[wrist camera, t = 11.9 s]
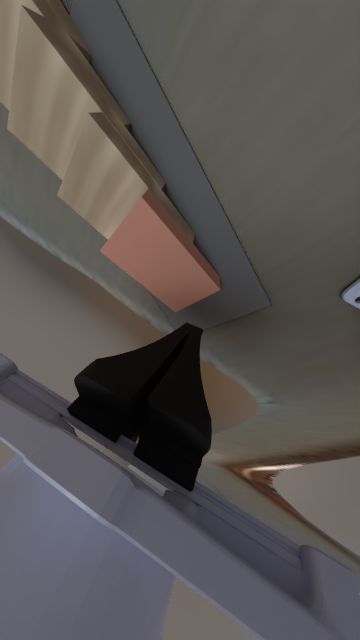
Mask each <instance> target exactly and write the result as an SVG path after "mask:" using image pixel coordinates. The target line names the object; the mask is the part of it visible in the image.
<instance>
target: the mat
mask: <svg viewBox="0 0 360 640" xmlns="http://www.w3.org/2000/svg"><path fill="white" fill-rule="evenodd" d="M69 17H70V18H71V20H72V22H73V24H74V26H75V27H76V29H77V31H78V33H79V34H80V36H81V38H82V40H83V41H84V43H85V45H86V47H87V49H88V50H89V52H90V54H91V59H90V62H89V64H90V66H91V67H92V68H93V70H94V71H95V73H96V74H97V75H98V77H99V78H100V80H101V81H102V83H103V84H104V85H105V87H106V88H107V90H108V91H109V92H110V94H111V95H112V97H113V98H114V100H115V101H116V102H117V104H118V105H119V107H120V108H121V109H122V111H123V112H124V114H125V115H126V117H127V118H128V119H129V121H130V122H131V125H130V127H129V129H128V131H129V133H130V134H131V135H132V137H133V138H134V140H135V141H136V142H137V144H138V145H139V146H140V148H141V149H142V151H143V152H144V153H145V155H146V156H147V157H148V159H149V160H150V161H151V163H152V164H153V166H154V167H155V168H156V170H157V171H158V172H159V174H160V175H161V177H162V178H163V179H164V181H165V182H166V183H165V185H164V186H163V188H162V189H161V190H162V191H163V192H164V194H165V195H166V196H167V198H168V199H169V200H170V202H171V203H172V204H173V206H174V207H175V208H176V209H177V211H178V212H179V213H180V215H181V216H182V217H183V219H184V220H185V221H186V223H187V224H188V225H189V227H190V228H191V229H192V230H193V232H194V233H195V235H194V241H193V244H194V245H195V247H196V248H197V249H198V250H199V252H200V253H201V254H202V255H203V257H204V258H205V259H206V260H207V262H208V263H209V264H210V265H211V267H212V268H213V269H214V270H215V272H216V273H217V274H218V275H219V277H220V291H217V292H215V293H213V294H211V295H209V296H207V297H205V298H203V299H201V300H199V301H197V302H195V303H193V304H191V305H189V306H187V307H185V308H183V309H181V310H179V311H177V312H174V311H173V310H172V309H170V308H169V307H168V306H167V305H166V304H164V303H163V302H162V301H161V300H159V299H158V298H157V297H156V296H154V295H153V294H152V293H151V292H150V291H149V293H150V294H151V296H152V297H153V298H154V300H155V301H156V303H157V304H158V305H159V307H160V308H161V309H162V311H163V312H164V314H165V315H166V316H167V318H168V319H169V321H170V322H171V323H172V325H173V326H174V327H175V329H178V328H179V327H181V326H182V325H183V324H184V323H186V322H187V323H190V324H192V325H194V326H197V327H199V328H202V329H203V330H205V329H208V328H211V327H213V326H216V325H219V324H222V323H225V322H227V321H230V320H233V319H236V318H238V317H241V316H244V315H247V314H250V313H252V312H255V311H258V310H261V309H263V308H266V307H269V306H272V304H271V302H270V300H269V298H268V296H267V294H266V292H265V290H264V288H263V286H262V284H261V282H260V280H259V278H258V276H257V274H256V273H255V271H254V269H253V267H252V265H251V263H250V261H249V259H248V257H247V255H246V253H245V251H244V249H243V247H242V245H241V243H240V241H239V239H238V237H237V235H236V233H235V231H234V229H233V227H232V225H231V224H230V222H229V220H228V218H227V216H226V214H225V212H224V210H223V208H222V206H221V204H220V202H219V200H218V198H217V196H216V194H215V192H214V190H213V188H212V186H211V184H210V182H209V180H208V178H207V176H206V174H205V173H204V171H203V169H202V167H201V165H200V163H199V161H198V159H197V157H196V155H195V153H194V151H193V149H192V147H191V145H190V143H189V141H188V139H187V137H186V135H185V133H184V131H183V129H182V127H181V125H180V124H179V122H178V120H177V118H176V116H175V114H174V112H173V110H172V108H171V106H170V104H169V102H168V100H167V98H166V96H165V94H164V92H163V90H162V88H161V86H160V84H159V82H158V80H157V78H156V76H155V75H154V73H153V71H152V69H151V67H150V65H149V63H148V61H147V59H146V57H145V55H144V53H143V51H142V49H141V47H140V45H139V43H138V41H137V39H136V37H135V35H134V33H133V31H132V29H131V27H130V26H129V24H128V22H127V20H126V18H125V16H124V14H123V12H122V10H121V8H120V6H119V4H118V2H117V0H73V1H72V6H71V10H70V14H69Z"/></svg>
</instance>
